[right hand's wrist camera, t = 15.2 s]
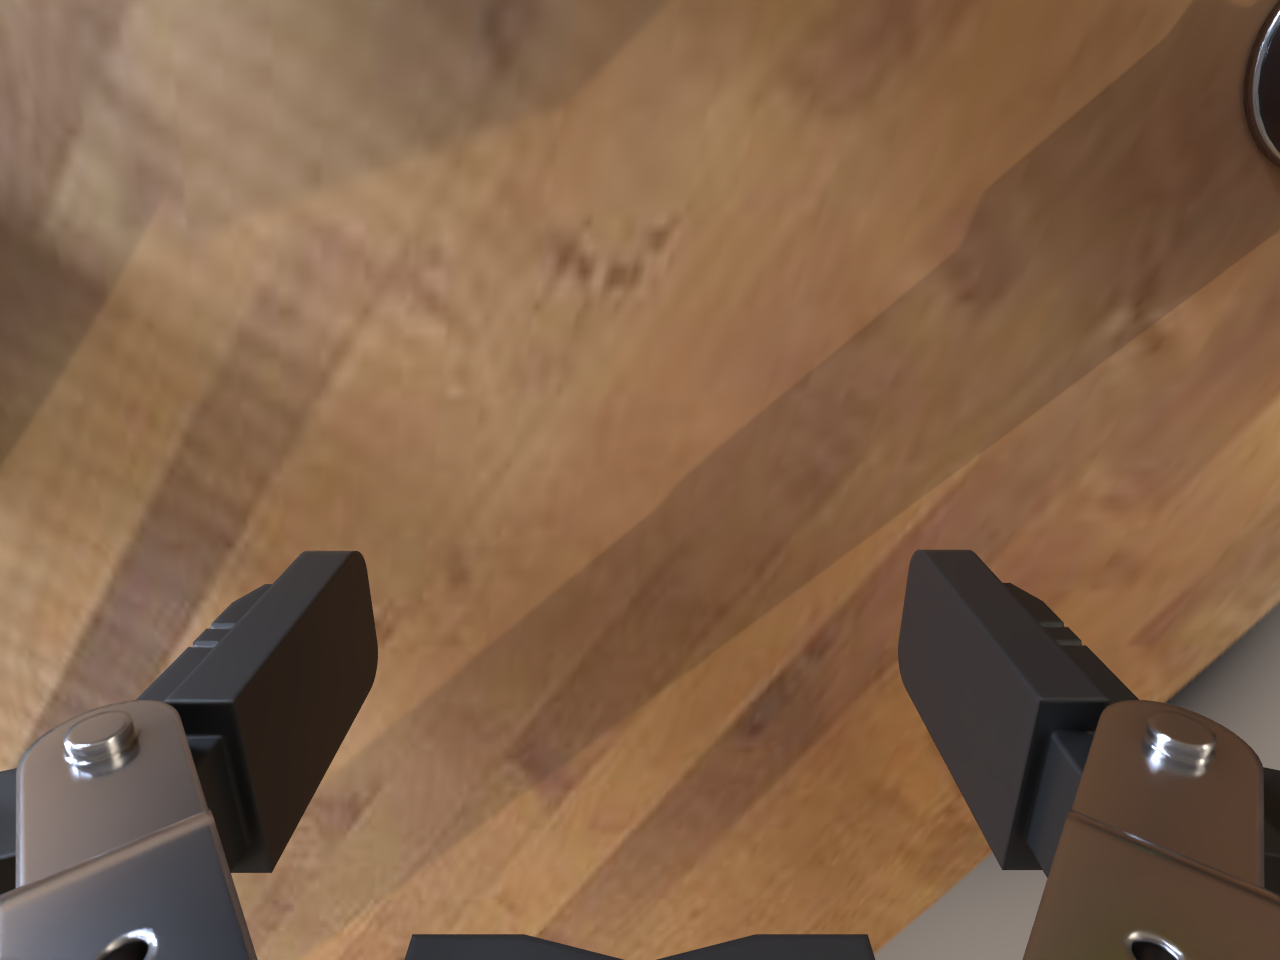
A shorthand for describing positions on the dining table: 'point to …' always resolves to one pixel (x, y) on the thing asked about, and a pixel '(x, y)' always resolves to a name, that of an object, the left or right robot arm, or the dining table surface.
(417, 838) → the dining table surface
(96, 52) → the dining table surface
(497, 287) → the dining table surface
